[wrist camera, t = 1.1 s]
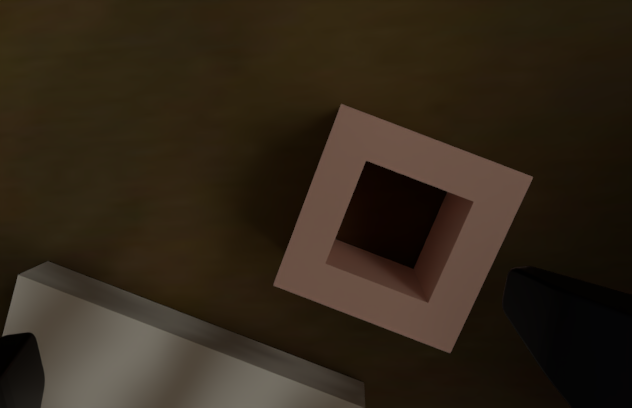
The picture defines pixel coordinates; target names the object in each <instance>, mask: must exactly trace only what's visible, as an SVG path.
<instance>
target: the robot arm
mask: <svg viewBox="0 0 632 408" xmlns="http://www.w3.org/2000/svg"><path fill="white" fill-rule="evenodd" d="M502 307H503V310H504V313H505V315H506V316H507V318H508V319H509V321H510V322H511V324H512V325H513V327H514V328H515V330H516V331H517V333H518V334H519V336H520V337H521V339H522V340H523V342H524V343H525V345H526V347H527V348H528V350H529V351H530V353H531V354H532V356H533V357H534V359H535V360H536V362H537V363H538V365H539V366H540V368H541V369H542V371H543V372H544V373H545V375H546V376H547V377H548V379H549V380H550V381H551V383H552V384H553V385H554V386H555V388H556V389H557V390H558V391H559V393H560V394H561V395H562V396H563V398H564V399H565V400H566V401H567V403H568V404H569V405H570V406H571V408H632V295H630V294H627V293H623V292H620V291H616V290H613V289H609V288H606V287H602V286H599V285H595V284H592V283H588V282H585V281H581V280H578V279H574V278H571V277H567V276H564V275H560V274H557V273H553V272H550V271H546V270H543V269H539V268H536V267H532V266H522V267H515V268H512V269H511V270H510V271H509V272H508V274H507V279H506V284H505V289H504V294H503V299H502ZM44 387H45V373H44V369H43V364H42V360H41V356H40V352H39V347H38V343H37V339H36V337H35V335H34V334H33V333H31V332H26V333H18V334H10V335H5V336H3V337H1V338H0V408H41V404H42V398H43V393H44Z"/></svg>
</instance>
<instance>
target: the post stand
mask: <svg viewBox="0 0 632 408" xmlns="http://www.w3.org/2000/svg"><path fill="white" fill-rule="evenodd" d="M26 332H31V333H33V334H34V335H35V337H36V339H37V343H38V347H39V352H40V356H41V360H42V364H43V369H44V373H45V387H44V393H43V398H42V404H41V408H365V392H364V382H361V381H359V380H356V379H353V378H351V377H348V376H346V375H343V374H340V373H338V372H335V371H333V370H330V369H327V368H325V367H322V366H320V365H317V364H314V363H312V362H309V361H307V360H304V359H301V358H299V357H296V356H294V355H291V354H288V353H286V352H283V351H281V350H278V349H275V348H273V347H270V346H267V345H265V344H262V343H260V342H257V341H254V340H252V339H249V338H247V337H244V336H241V335H239V334H236V333H234V332H231V331H228V330H226V329H223V328H221V327H218V326H215V325H213V324H210V323H208V322H205V321H202V320H200V319H197V318H195V317H192V316H189V315H187V314H184V313H182V312H179V311H176V310H174V309H171V308H169V307H166V306H163V305H161V304H158V303H156V302H153V301H150V300H148V299H145V298H143V297H140V296H137V295H135V294H132V293H130V292H127V291H124V290H122V289H119V288H117V287H114V286H111V285H109V284H106V283H104V282H101V281H98V280H96V279H93V278H91V277H88V276H85V275H83V274H80V273H78V272H75V271H72V270H70V269H67V268H65V267H62V266H59V265H57V264H54V263H52V262H49V261H47V262H45V263H43V264H40V265H38V266H36V267H34V268H32V269H30V270H27V271H25V272H23V273H21V274H19V275H18V277H17V281H16V285H15V289H14V293H13V297H12V301H11V305H10V308H9V312H8V316H7V320H6V324H5V328H4V332H3V335H2V337H3V336H5V335H10V334H18V333H26Z"/></svg>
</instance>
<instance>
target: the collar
mask: <svg viewBox="0 0 632 408" xmlns="http://www.w3.org/2000/svg"><path fill="white" fill-rule="evenodd" d="M366 161H368V162H371V163H374V164H376V165H379V166H381V167H384V168H387V169H389V170H392V171H395V172H397V173H400V174H402V175H405V176H408V177H410V178H413V179H416V180H418V181H421V182H423V183H426V184H429V185H431V186H434V187H437V188H439V189H442V190H444V191H447V193H446V196H445V198H444V200H443V203H442V205H441V207H440V209H439V212H438V214H437V216H436V219H435V221H434V223H433V225H432V228H431V230H430V232H429V235H428V237H427V239H426V241H425V244H424V246H423V248H422V251H421V253H420V255H419V258H418V260H417V262H416V264H415V267H414V269H412V268H410V267H407V266H404V265H402V264H399V263H397V262H394V261H391V260H389V259H386V258H384V257H381V256H378V255H376V254H373V253H371V252H368V251H365V250H363V249H360V248H357V247H355V246H352V245H350V244H347V243H344V242H342V241H339V240H337V239H335V238H336V235H337V233H338V230H339V228H340V225H341V223H342V220H343V218H344V215H345V213H346V210H347V208H348V205H349V202H350V200H351V197H352V195H353V192H354V190H355V187H356V185H357V182H358V180H359V177H360V175H361V172H362V170H363V167H364V165H365V162H366ZM532 179H533V177H532V176H529V175H527V174H524V173H522V172H519V171H516V170H514V169H511V168H508V167H506V166H503V165H501V164H498V163H495V162H493V161H490V160H487V159H485V158H482V157H480V156H477V155H474V154H472V153H469V152H466V151H464V150H461V149H459V148H456V147H453V146H451V145H448V144H445V143H443V142H440V141H438V140H435V139H432V138H430V137H427V136H424V135H422V134H419V133H417V132H414V131H411V130H409V129H406V128H403V127H401V126H398V125H396V124H393V123H390V122H388V121H385V120H382V119H380V118H377V117H375V116H372V115H369V114H367V113H364V112H361V111H359V110H356V109H354V108H351V107H348V106H346V105H343V104H341V106H340V108H339V111H338V114H337V116H336V119H335V122H334V124H333V127H332V130H331V132H330V135H329V138H328V140H327V143H326V146H325V148H324V151H323V154H322V156H321V159H320V162H319V164H318V167H317V170H316V172H315V175H314V178H313V180H312V183H311V186H310V188H309V191H308V194H307V196H306V199H305V202H304V204H303V207H302V210H301V212H300V215H299V218H298V220H297V223H296V226H295V228H294V231H293V233H292V236H291V239H290V241H289V244H288V247H287V249H286V252H285V255H284V257H283V260H282V263H281V265H280V268H279V271H278V273H277V276H276V279H275V281H274V284H273V286H276V287H278V288H281V289H284V290H286V291H289V292H291V293H294V294H297V295H299V296H302V297H304V298H307V299H310V300H312V301H315V302H317V303H320V304H323V305H325V306H328V307H330V308H333V309H336V310H338V311H341V312H344V313H346V314H349V315H351V316H354V317H357V318H359V319H362V320H364V321H367V322H370V323H372V324H375V325H377V326H380V327H383V328H385V329H388V330H390V331H393V332H396V333H398V334H401V335H403V336H406V337H409V338H411V339H414V340H417V341H419V342H422V343H424V344H427V345H430V346H432V347H435V348H437V349H440V350H443V351H445V352H448V353H451V351H452V349H453V347H454V345H455V342H456V340H457V338H458V336H459V334H460V332H461V330H462V328H463V325H464V323H465V321H466V319H467V317H468V315H469V313H470V311H471V308H472V306H473V304H474V302H475V300H476V298H477V296H478V294H479V292H480V289H481V287H482V285H483V283H484V281H485V279H486V277H487V275H488V272H489V270H490V268H491V266H492V264H493V262H494V260H495V258H496V255H497V253H498V251H499V249H500V247H501V245H502V243H503V241H504V238H505V236H506V234H507V232H508V230H509V228H510V226H511V224H512V221H513V219H514V217H515V215H516V213H517V211H518V209H519V207H520V204H521V202H522V200H523V198H524V196H525V194H526V192H527V190H528V187H529V185H530V183H531V181H532Z"/></svg>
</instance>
